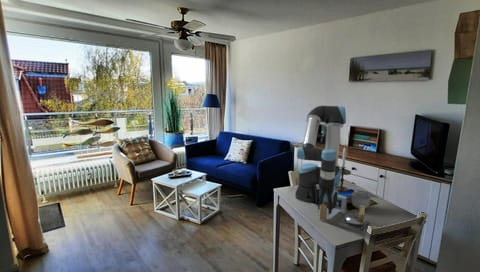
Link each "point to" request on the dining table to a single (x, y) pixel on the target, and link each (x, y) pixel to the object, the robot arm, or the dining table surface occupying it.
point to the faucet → (356, 217)
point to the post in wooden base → (325, 210)
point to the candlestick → (344, 172)
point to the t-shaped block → (338, 209)
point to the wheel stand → (354, 225)
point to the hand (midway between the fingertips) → (324, 216)
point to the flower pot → (324, 196)
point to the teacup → (360, 199)
